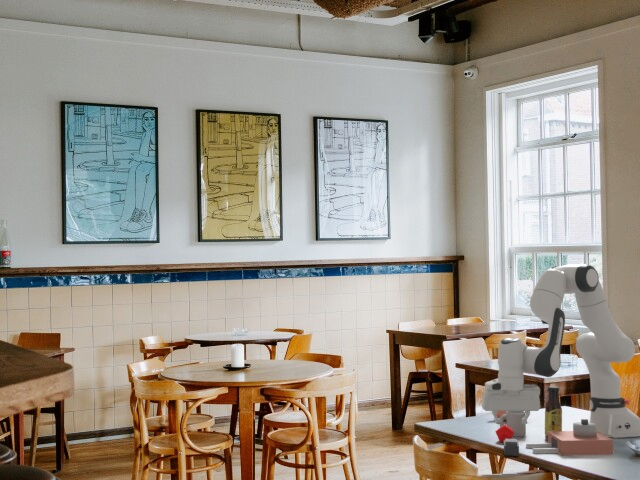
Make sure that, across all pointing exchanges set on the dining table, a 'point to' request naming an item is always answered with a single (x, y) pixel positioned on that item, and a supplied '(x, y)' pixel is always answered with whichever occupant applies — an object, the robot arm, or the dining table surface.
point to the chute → (511, 447)
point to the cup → (514, 422)
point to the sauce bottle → (553, 411)
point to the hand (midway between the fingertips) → (511, 423)
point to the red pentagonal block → (504, 433)
